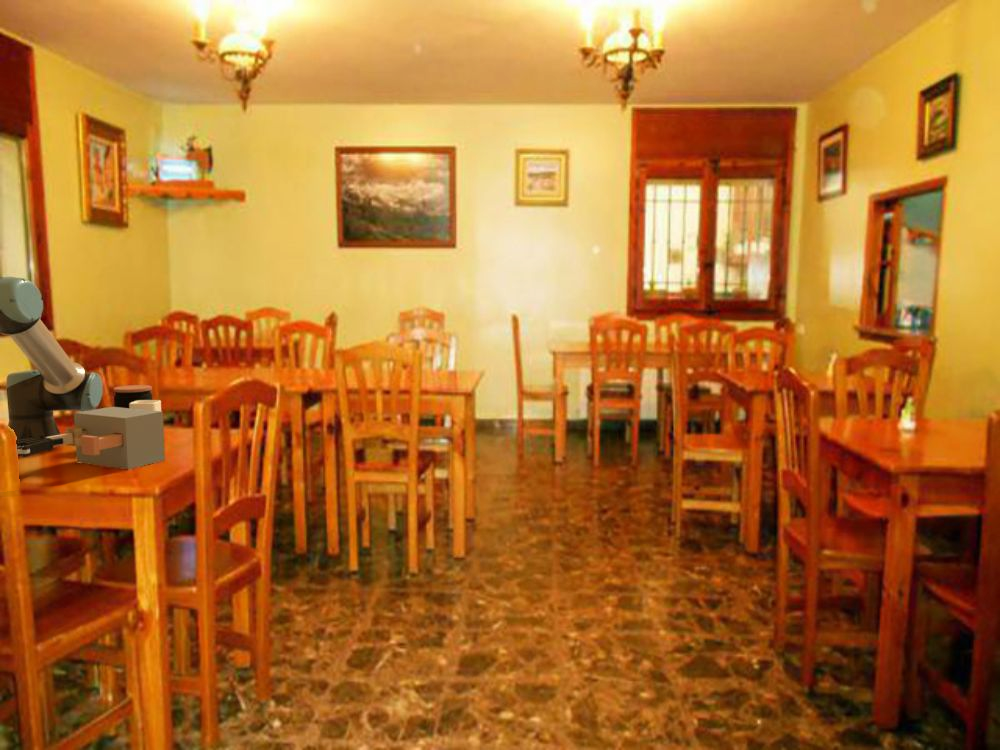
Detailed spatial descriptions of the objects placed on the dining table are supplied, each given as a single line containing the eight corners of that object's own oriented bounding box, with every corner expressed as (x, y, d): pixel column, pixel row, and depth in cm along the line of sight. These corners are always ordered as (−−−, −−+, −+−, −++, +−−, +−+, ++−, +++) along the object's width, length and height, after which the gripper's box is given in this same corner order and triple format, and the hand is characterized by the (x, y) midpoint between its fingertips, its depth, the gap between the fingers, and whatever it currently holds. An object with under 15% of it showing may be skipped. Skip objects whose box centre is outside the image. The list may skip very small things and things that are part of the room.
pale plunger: (66, 444, 199) (65, 428, 199) (107, 436, 210) (106, 421, 210) (77, 446, 197) (76, 429, 197) (118, 438, 209) (117, 422, 208)
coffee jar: (153, 446, 224) (150, 388, 222) (114, 449, 220) (111, 390, 218) (155, 440, 234) (153, 384, 232) (118, 442, 230) (115, 385, 228)
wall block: (77, 462, 203) (73, 412, 201) (115, 454, 214) (112, 406, 212) (128, 469, 195) (125, 418, 193) (165, 460, 206) (162, 411, 204)
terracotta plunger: (81, 453, 188) (80, 436, 188) (124, 444, 200) (123, 428, 199) (94, 455, 186) (93, 437, 186) (136, 446, 198) (135, 429, 197)
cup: (140, 448, 222) (137, 400, 220) (164, 448, 222) (162, 399, 220) (129, 453, 214) (127, 403, 213) (155, 453, 215) (152, 403, 213)
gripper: (-37, 468, 179) (55, 449, 201) (-3, 473, 174) (88, 453, 195) (-39, 437, 178) (53, 422, 200) (-6, 442, 173) (86, 426, 195)
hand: (70, 438), depth 198 cm, fingers closed
